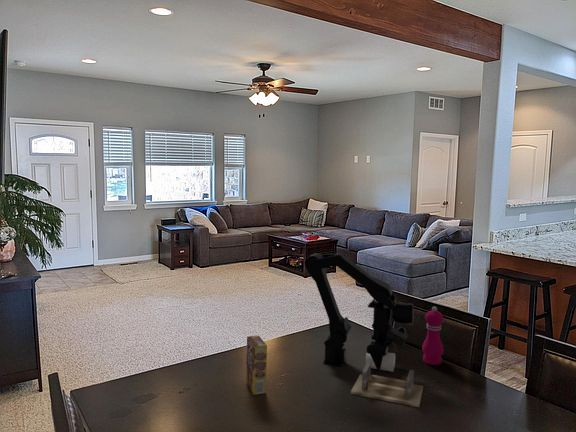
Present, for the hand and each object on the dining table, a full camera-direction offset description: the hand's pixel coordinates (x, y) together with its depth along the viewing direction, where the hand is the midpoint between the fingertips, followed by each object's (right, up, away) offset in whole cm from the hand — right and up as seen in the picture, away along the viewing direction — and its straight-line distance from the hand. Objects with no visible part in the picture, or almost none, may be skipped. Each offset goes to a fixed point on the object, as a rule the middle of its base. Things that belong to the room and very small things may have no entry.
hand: (380, 364), depth 154 cm
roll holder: (-1, -3, -16) cm, 16 cm away
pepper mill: (+20, -1, +6) cm, 21 cm away
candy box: (-41, -3, -14) cm, 44 cm away
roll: (0, -1, 0) cm, 1 cm away
